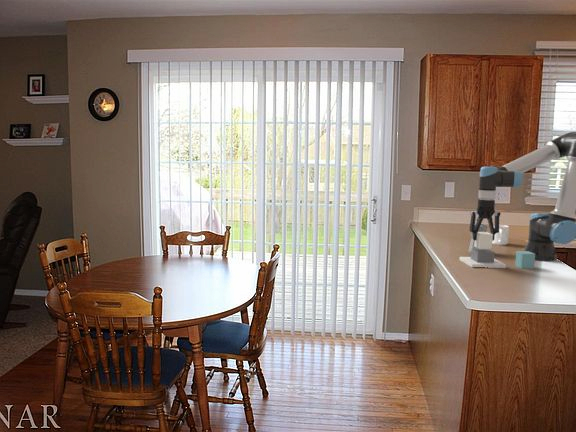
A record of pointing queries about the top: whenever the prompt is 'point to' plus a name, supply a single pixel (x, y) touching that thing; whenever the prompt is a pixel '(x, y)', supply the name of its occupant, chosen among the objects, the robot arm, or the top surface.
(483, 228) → the coffee maker
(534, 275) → the top surface
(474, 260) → the tower base
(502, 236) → the mug
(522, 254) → the teal block
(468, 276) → the top surface
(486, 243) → the cream block
